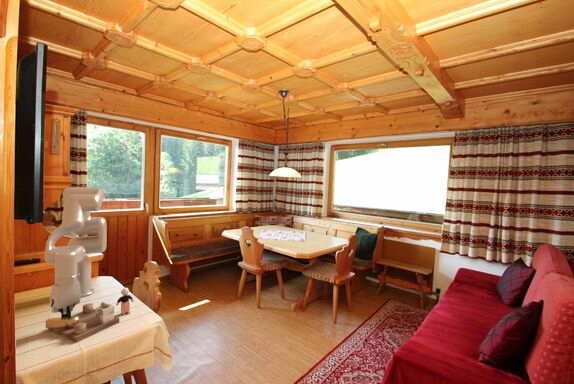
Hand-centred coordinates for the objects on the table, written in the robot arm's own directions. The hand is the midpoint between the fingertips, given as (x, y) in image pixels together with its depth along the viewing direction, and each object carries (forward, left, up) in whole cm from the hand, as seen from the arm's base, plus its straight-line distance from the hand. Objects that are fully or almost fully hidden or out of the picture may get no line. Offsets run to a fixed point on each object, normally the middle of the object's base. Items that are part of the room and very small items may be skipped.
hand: (66, 320), depth 123 cm
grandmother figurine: (+10, +20, -3) cm, 23 cm away
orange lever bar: (+2, -2, -1) cm, 3 cm away
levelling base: (+5, +5, -3) cm, 8 cm away
